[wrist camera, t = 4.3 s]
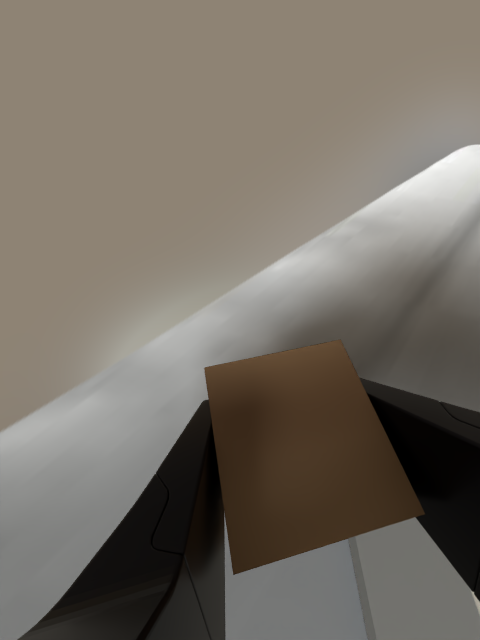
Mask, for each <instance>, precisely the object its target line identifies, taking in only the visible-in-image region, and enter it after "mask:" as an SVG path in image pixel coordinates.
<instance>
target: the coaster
mask: <svg viewBox="0 0 480 640" xmlns="http://www.w3.org/2000/svg"><path fill="white" fill-rule="evenodd" d="M348 540H349V545H350V550H351V555H352V560H353V565H354V571H355V576H356V581H357V586H358V591H359V596H360V601H361V606H362V611H363V616H364V622H365V627H366V632H367V637H368V640H480V602H479V600H478V599H477V598H476V596H475V595H474V592H472V591H471V590H470V588H469V587H468V586H467V584H466V583H465V582H464V580H463V579H462V578H461V576H460V575H459V574H458V573H457V571H456V570H455V569H454V567H453V566H452V565H451V563H450V562H449V561H448V559H447V558H446V557H445V555H444V554H443V553H442V552H441V550H440V549H439V548H438V546H437V545H436V544H435V542H434V541H433V540H432V538H431V537H430V536H429V535H428V533H427V532H426V531H425V529H424V528H423V527H422V525H421V524H420V523H419V521H418V520H417V519H416V518H415V517H414V518H411V519H408V520H405V521H402V522H399V523H395V524H392V525H389V526H386V527H383V528H380V529H376V530H373V531H370V532H367V533H364V534H361V535H357V536H354V537H351V538H348Z"/></svg>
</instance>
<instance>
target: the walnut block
mask: <svg viewBox="0 0 480 640" xmlns="http://www.w3.org/2000/svg"><path fill="white" fill-rule="evenodd" d="M204 369H205V376H206V384H207V391H208V398H209V405H210V412H211V419H212V426H213V433H214V440H215V448H216V455H217V462H218V469H219V476H220V483H221V490H222V497H223V504H224V511H225V519H226V526H227V533H228V540H229V547H230V554H231V561H232V568H233V575H234V574H237V573H241V572H244V571H247V570H250V569H253V568H256V567H260V566H263V565H266V564H269V563H272V562H275V561H279V560H282V559H285V558H288V557H291V556H294V555H297V554H301V553H304V552H307V551H310V550H313V549H316V548H320V547H323V546H326V545H329V544H332V543H335V542H339V541H342V540H345V539H348V538H351V537H354V536H357V535H361V534H364V533H367V532H370V531H373V530H376V529H380V528H383V527H386V526H389V525H392V524H395V523H399V522H402V521H405V520H408V519H411V518H414V517H418V516H421V515H424V514H425V513H424V511H423V509H422V506H421V504H420V502H419V500H418V498H417V496H416V494H415V492H414V490H413V488H412V486H411V484H410V482H409V480H408V478H407V476H406V474H405V471H404V469H403V467H402V465H401V463H400V461H399V459H398V457H397V455H396V453H395V451H394V449H393V447H392V445H391V443H390V441H389V439H388V436H387V434H386V432H385V430H384V428H383V426H382V424H381V422H380V420H379V418H378V416H377V414H376V412H375V410H374V408H373V406H372V404H371V401H370V399H369V397H368V395H367V393H366V391H365V389H364V387H363V385H362V383H361V381H360V379H359V377H358V375H357V373H356V371H355V369H354V366H353V364H352V362H351V360H350V358H349V356H348V354H347V352H346V350H345V348H344V346H343V344H342V342H341V340H336V341H331V342H326V343H322V344H317V345H312V346H307V347H302V348H297V349H292V350H288V351H283V352H278V353H273V354H268V355H263V356H258V357H254V358H249V359H244V360H239V361H234V362H229V363H224V364H220V365H215V366H210V367H205V368H204Z"/></svg>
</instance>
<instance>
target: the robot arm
mask: <svg viewBox="0 0 480 640" xmlns="http://www.w3.org/2000/svg"><path fill="white" fill-rule="evenodd" d="M359 379H360V381H361V383H362V385H363V387H364V389H365V391H366V393H367V395H368V397H369V399H370V401H371V404H372V406H373V408H374V410H375V412H376V414H377V416H378V418H379V420H380V422H381V424H382V426H383V428H384V430H385V432H386V434H387V436H388V439H389V441H390V443H391V445H392V447H393V449H394V451H395V453H396V455H397V457H398V459H399V461H400V463H401V465H402V467H403V469H404V471H405V474H406V476H407V478H408V480H409V482H410V484H411V486H412V488H413V490H414V492H415V494H416V496H417V498H418V500H419V502H420V504H421V506H422V509H423V511H424V513H425V514H424V515H421V516H418V517H415V518H416V519H417V520H418V521H419V523H420V524H421V525H422V527H423V528H424V529H425V531H426V532H427V533H428V535H429V536H430V537H431V538H432V540H433V541H434V542H435V544H436V545H437V546H438V548H439V549H440V550H441V552H442V553H443V554H444V555H445V557H446V558H447V559H448V561H449V562H450V563H451V565H452V566H453V567H454V569H455V570H456V571H457V573H458V574H459V575H460V576H461V578H462V579H463V580H464V582H465V583H466V584H467V586H468V587H469V588H470V590H471V591H472V592H474V595H475V596H476V598H477V599H478V600H479V602H480V412H476V411H473V410H469V409H465V408H462V407H458V406H455V405H451V404H448V403H444V402H439V401H437V400H434V399H431V398H427V397H424V396H420V395H417V394H413V393H410V392H406V391H403V390H400V389H396V388H393V387H389V386H386V385H382V384H379V383H376V382H372V381H369V380H365V379H362V378H359ZM18 640H225V544H224V504H223V497H222V490H221V483H220V476H219V469H218V462H217V455H216V448H215V440H214V433H213V426H212V419H211V412H210V405H209V400H204V401H203V402H202V403H201V405H200V406H199V408H198V409H197V411H196V412H195V414H194V415H193V417H192V418H191V420H190V421H189V423H188V424H187V426H186V428H185V429H184V431H183V432H182V434H181V435H180V437H179V438H178V440H177V441H176V443H175V444H174V446H173V447H172V449H171V450H170V452H169V453H168V455H167V456H166V458H165V459H164V461H163V462H162V464H161V466H160V467H159V469H158V470H157V472H156V474H155V475H154V476H153V478H152V479H151V481H150V482H149V484H148V485H147V487H146V488H145V489H144V491H143V492H142V494H141V495H140V497H139V498H138V500H137V501H136V502H135V504H134V505H133V507H132V508H131V509H130V511H129V512H128V513H127V515H126V516H125V517H124V519H123V520H122V521H121V523H120V524H119V525H118V526H117V528H116V529H115V530H114V532H113V533H112V534H111V535H110V537H109V538H108V539H107V541H106V542H105V543H104V544H103V546H102V547H101V548H100V550H99V551H98V552H97V553H96V555H95V556H94V557H93V558H92V560H91V561H90V562H89V564H88V565H87V566H86V567H85V569H84V570H83V571H82V573H81V574H80V575H79V576H78V578H77V579H76V580H75V582H74V583H73V584H72V585H71V587H70V588H69V589H68V590H67V592H66V593H65V594H64V595H63V596H62V598H61V599H60V600H59V601H58V602H57V603H56V604H55V606H54V607H53V608H52V609H51V610H50V611H49V612H48V613H47V614H46V615H45V616H44V617H43V618H42V619H41V620H40V621H39V622H38V623H37V624H36V625H35V626H34V627H32V628H31V629H30V630H29V631H28V632H27V633H25V634H24V635H23V636H22V637H20V638H19V639H18Z"/></svg>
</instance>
